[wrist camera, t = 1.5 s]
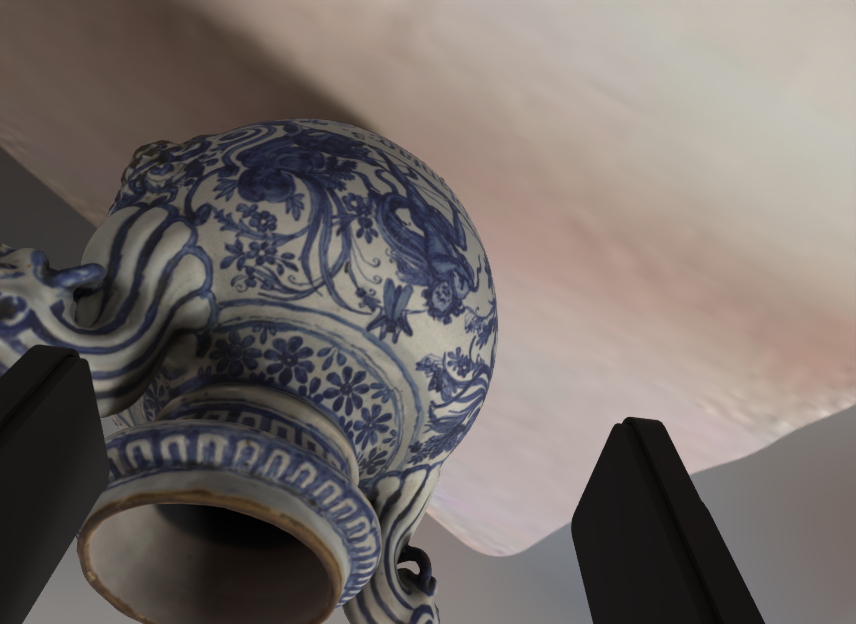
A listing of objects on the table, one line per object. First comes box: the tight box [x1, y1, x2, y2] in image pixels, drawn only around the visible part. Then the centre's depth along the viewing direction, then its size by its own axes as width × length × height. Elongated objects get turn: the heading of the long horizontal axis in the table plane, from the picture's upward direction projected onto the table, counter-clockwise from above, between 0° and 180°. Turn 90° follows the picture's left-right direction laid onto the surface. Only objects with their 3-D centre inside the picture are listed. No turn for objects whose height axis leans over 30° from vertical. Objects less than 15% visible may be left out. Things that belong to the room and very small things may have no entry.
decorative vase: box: [0, 119, 498, 624], centre depth 28 cm, size 21×19×28 cm
